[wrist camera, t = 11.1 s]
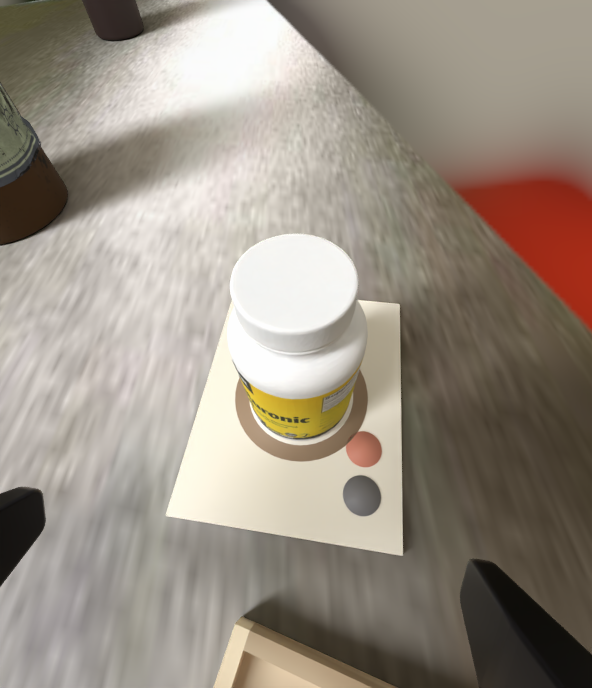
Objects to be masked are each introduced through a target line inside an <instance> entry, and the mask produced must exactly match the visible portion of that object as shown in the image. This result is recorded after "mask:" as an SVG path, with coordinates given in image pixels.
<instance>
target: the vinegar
mask: <svg viewBox="0 0 592 688" xmlns="http://www.w3.org/2000/svg"><path fill="white" fill-rule="evenodd" d="M82 1H83V3H84V6H85V8H86V11H87V13H88V16H89V18H90V20H91V23H92V25H93V28H94V30H95V32H96V34H97V35H98V36H99V37H100V38H102V39H104V40H124V39H128V38H131V37H134V36H136V35H138V34H140V33H141V32H142V30H143V22H142V19H141V16H140V13H139V10H138V7H137V4H136V0H82Z"/></svg>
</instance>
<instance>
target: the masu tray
mask: <svg viewBox="0 0 592 688" xmlns="http://www.w3.org/2000/svg"><path fill="white" fill-rule="evenodd" d="M213 688H397V687H395V686H393V685H391V684H388V683H386V682H384V681H382V680H380V679H378V678H375V677H373V676H371V675H369V674H367V673H365V672H362V671H360V670H358V669H356V668H354V667H352V666H349V665H347V664H345V663H343V662H341V661H338V660H336V659H334V658H332V657H330V656H328V655H325V654H323V653H321V652H319V651H317V650H315V649H312V648H310V647H308V646H306V645H304V644H302V643H299V642H297V641H295V640H293V639H291V638H288V637H286V636H284V635H282V634H280V633H278V632H275V631H273V630H271V629H269V628H267V627H265V626H262V625H260V624H258V623H256V622H254V621H251V620H249V619H247V618H245V617H243V616H242V617H241V618H240V619H239V620H238V621H237V622H236V623H235V626H234V629H233V631H232V634H231V637H230V640H229V643H228V646H227V649H226V652H225V655H224V658H223V661H222V664H221V667H220V670H219V673H218V676H217V679H216V681H215V684H214V687H213Z"/></svg>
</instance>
